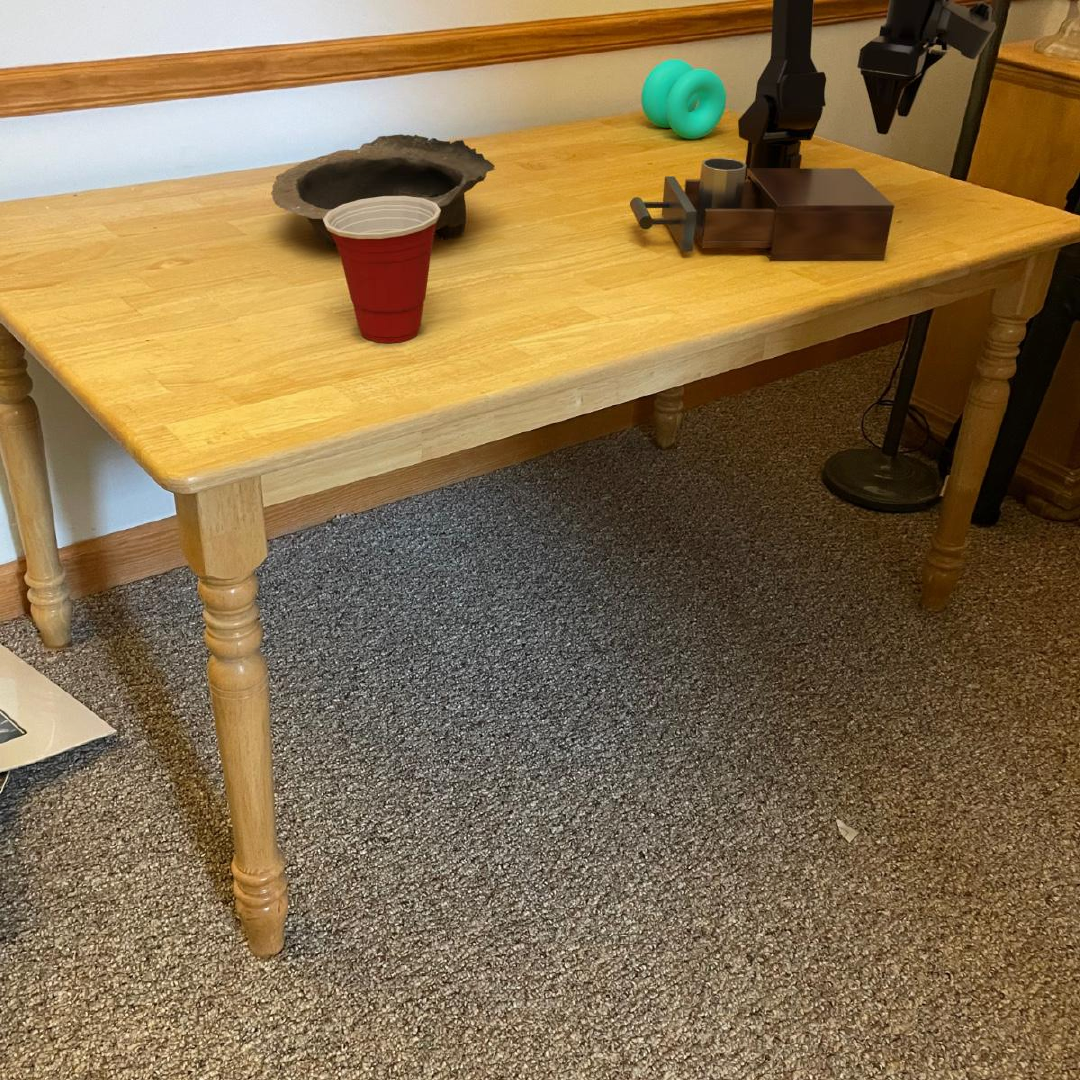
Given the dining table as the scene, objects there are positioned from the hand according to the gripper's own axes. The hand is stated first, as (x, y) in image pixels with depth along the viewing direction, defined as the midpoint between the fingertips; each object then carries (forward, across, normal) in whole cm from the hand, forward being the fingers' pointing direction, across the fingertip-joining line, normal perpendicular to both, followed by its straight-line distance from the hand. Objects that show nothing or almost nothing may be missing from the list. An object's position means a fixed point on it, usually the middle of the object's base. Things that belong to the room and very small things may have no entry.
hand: (892, 124), depth 134 cm
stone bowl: (+14, -31, +50) cm, 60 cm away
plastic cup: (+14, -54, +33) cm, 64 cm away
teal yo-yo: (+14, +32, +38) cm, 52 cm away
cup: (+12, -10, +16) cm, 22 cm away
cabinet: (+14, -4, +6) cm, 15 cm away
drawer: (+13, -11, +17) cm, 24 cm away
